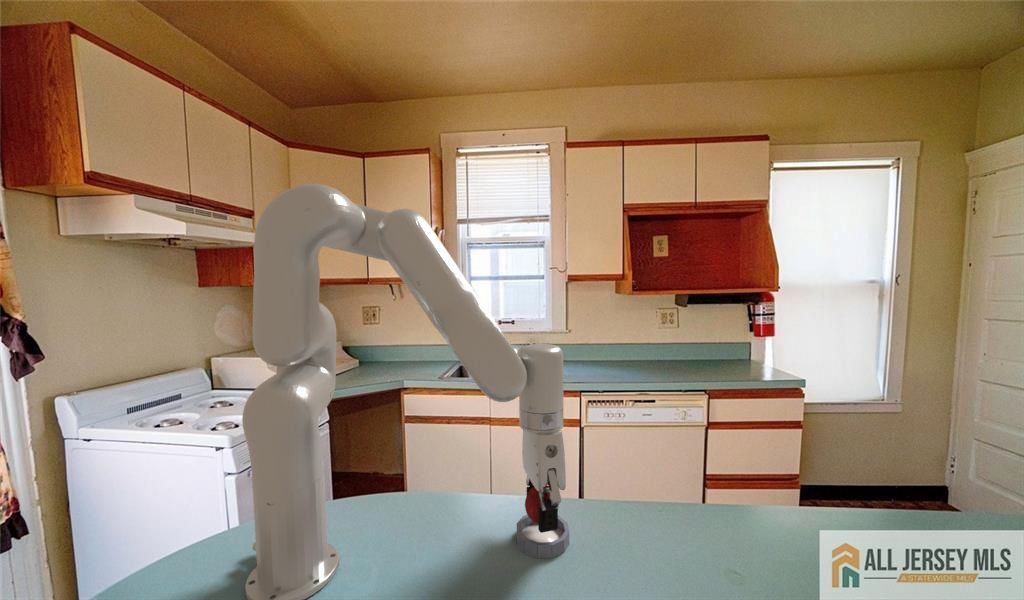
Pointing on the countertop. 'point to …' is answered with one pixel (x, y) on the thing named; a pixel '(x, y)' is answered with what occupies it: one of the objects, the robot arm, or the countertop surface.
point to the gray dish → (542, 538)
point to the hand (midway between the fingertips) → (541, 517)
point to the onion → (534, 503)
